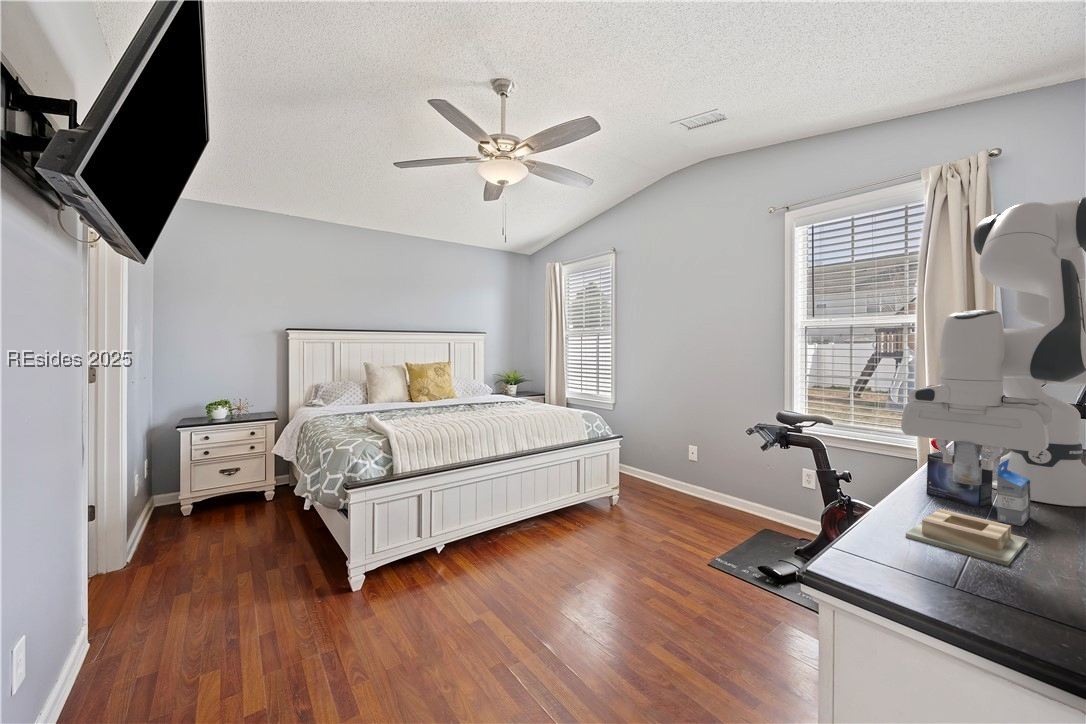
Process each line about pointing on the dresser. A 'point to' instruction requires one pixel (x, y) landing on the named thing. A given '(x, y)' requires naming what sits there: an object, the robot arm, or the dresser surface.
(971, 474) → the peg
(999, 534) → the hub block
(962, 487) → the small box
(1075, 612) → the dresser surface
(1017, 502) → the label tape box
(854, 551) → the dresser surface
